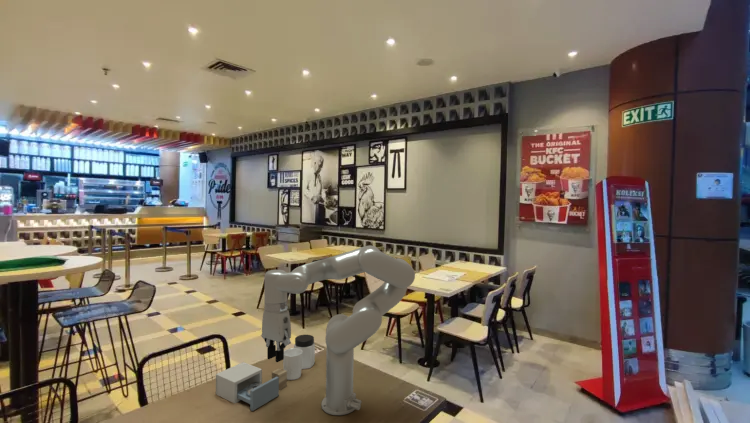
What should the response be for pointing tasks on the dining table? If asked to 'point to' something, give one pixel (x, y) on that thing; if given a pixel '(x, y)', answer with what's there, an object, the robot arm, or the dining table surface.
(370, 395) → the dining table surface
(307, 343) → the jar
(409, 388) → the dining table surface
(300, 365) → the white cup
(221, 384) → the housing
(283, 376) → the beige block
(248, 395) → the disc
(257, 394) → the blue-grey open box
